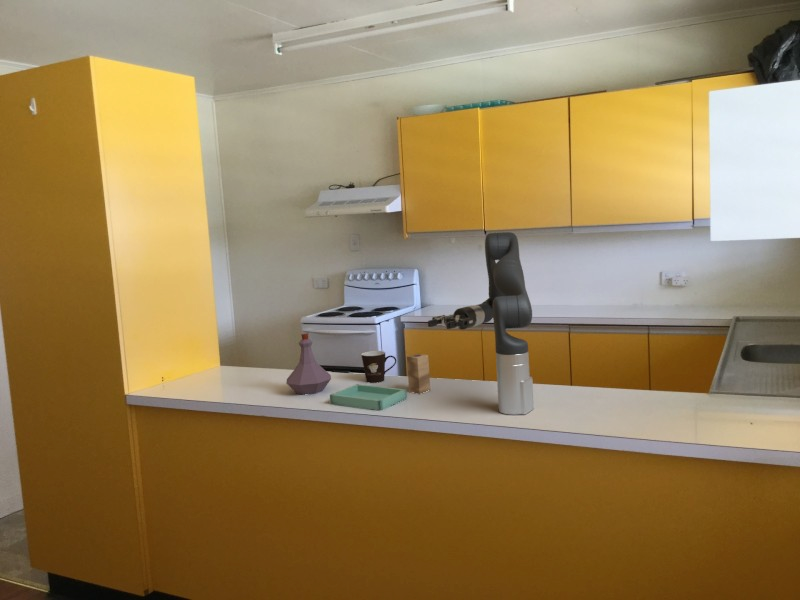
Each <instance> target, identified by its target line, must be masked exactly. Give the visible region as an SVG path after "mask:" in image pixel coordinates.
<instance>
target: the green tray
mask: <svg viewBox="0 0 800 600" xmlns="http://www.w3.org/2000/svg"><path fill="white" fill-rule="evenodd" d="M407 391H408V390H407V389H406V388H405V389H404V388H394V387H385V386H377V385H367V384H356V383H355V384H354V385H352V386H348V387H347V388H344V389H341V390H338V391H336V392H334V393H331V394H329V401H330V402H329V403H330V405H335V406H345V407H351V408H358V409H364V408H367V409H366V410H371V409H375V410H374V411H379V410H382V411H383V409H384V410H386V409H388V408H390V407H392V406H394V405H393V404H395V403H397V404H399V403H401V402H403V401H405V400H407V399H408V395H407ZM406 398H407V399H406ZM404 399H405V400H404ZM402 400H403V401H402ZM400 401H401V402H400ZM398 402H399V403H398ZM391 405H392V406H391ZM395 405H396V404H395ZM389 406H390V407H389ZM387 407H388V408H387ZM385 408H386V409H385Z"/></svg>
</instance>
